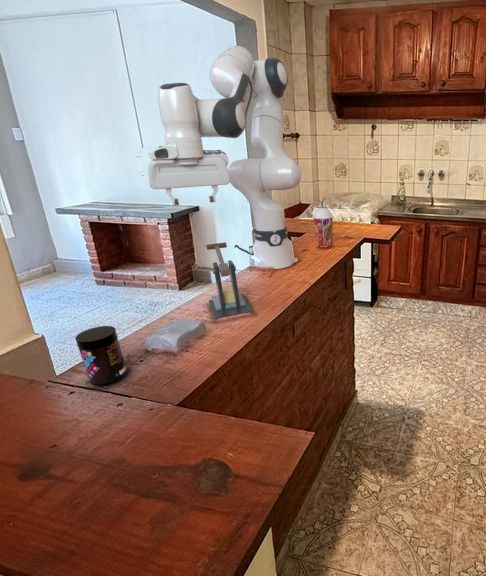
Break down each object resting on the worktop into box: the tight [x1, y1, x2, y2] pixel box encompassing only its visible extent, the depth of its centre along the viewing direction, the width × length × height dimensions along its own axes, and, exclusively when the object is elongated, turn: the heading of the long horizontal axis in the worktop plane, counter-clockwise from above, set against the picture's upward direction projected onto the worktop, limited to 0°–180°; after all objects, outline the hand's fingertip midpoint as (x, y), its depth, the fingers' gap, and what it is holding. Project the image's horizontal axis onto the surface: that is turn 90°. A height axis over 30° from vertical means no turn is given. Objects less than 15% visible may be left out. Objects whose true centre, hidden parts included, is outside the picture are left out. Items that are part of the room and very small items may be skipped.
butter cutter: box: [208, 259, 254, 320], centre depth 111 cm, size 14×10×14 cm
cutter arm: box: [205, 241, 230, 278], centre depth 113 cm, size 14×6×2 cm, turn 27°
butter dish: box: [211, 284, 246, 311], centre depth 115 cm, size 10×8×4 cm
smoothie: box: [312, 200, 334, 250], centre depth 172 cm, size 8×8×20 cm
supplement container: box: [75, 325, 128, 388], centre depth 80 cm, size 7×7×10 cm
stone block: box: [144, 318, 206, 352], centre depth 96 cm, size 12×5×10 cm
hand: (194, 203), depth 110 cm, fingers open, 8 cm apart
